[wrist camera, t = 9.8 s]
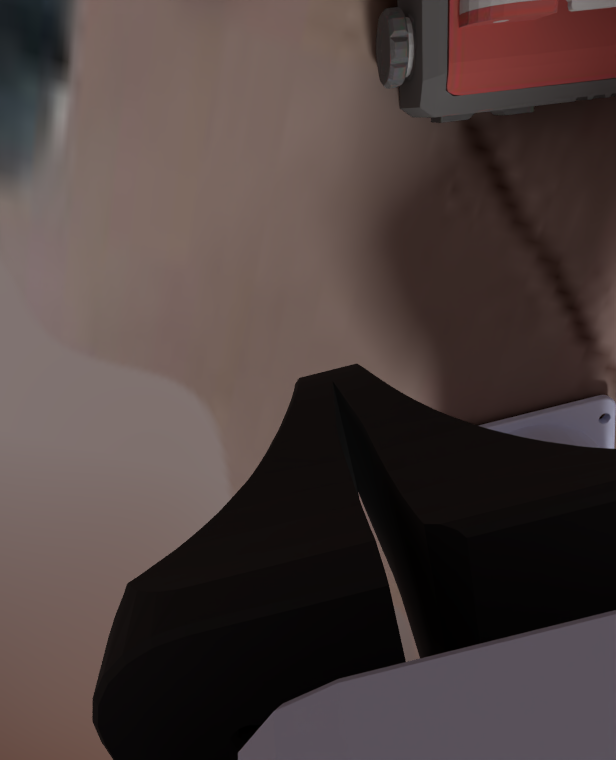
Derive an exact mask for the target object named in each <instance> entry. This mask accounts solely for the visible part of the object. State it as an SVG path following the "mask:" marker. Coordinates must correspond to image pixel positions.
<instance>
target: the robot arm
mask: <svg viewBox="0 0 616 760" xmlns="http://www.w3.org/2000/svg"><path fill="white" fill-rule="evenodd" d="M615 411H616V404H615V401H614V400H613V399H612V398H610V397H609V396H607V395H598V396H594V397H590V398H586V399H582V400H578V401H574V402H570V403H566V404H562V405H558V406H554V407H550V408H546V409H542V410H538V411H534V412H530V413H526V414H522V415H518V416H514V417H510V418H506V419H502V420H498V421H494V422H490V423H486V424H482V425H478V426H477V425H474V424H471V423H468V422H466V421H463V420H460V419H457V418H454V417H451V416H449V415H446V414H444V413H441V412H439V411H437V410H434V409H432V408H430V407H428V406H426V405H424V404H422V403H420V402H418V401H416V400H414V399H412V398H410V397H408V396H406V395H405V394H403V393H401V392H400V391H398V390H396V389H394V388H393V387H391V386H390V385H388V384H387V383H385V382H384V381H382V380H381V379H379V378H378V377H376V376H375V375H373V374H372V373H370V372H369V371H368V370H366V369H365V368H363V367H362V366H360V365H358V364H353V365H349V366H345V367H341V368H337V369H333V370H329V371H325V372H321V373H317V374H313V375H309V376H306V377H302V378H299V379H298V381H297V382H296V384H295V388H294V392H293V396H292V399H291V402H290V404H289V407H288V410H287V412H286V414H285V417H284V419H283V421H282V424H281V426H280V428H279V430H278V432H277V434H276V436H275V438H274V440H273V442H272V443H271V445H270V447H269V449H268V451H267V453H266V454H265V456H264V457H263V459H262V461H261V462H260V464H259V465H258V467H257V468H256V470H255V471H254V473H253V474H252V475H251V477H250V478H249V479H248V481H247V482H246V483H245V484H244V485H243V486H242V487H241V489H240V490H239V491H238V492H237V493H236V494H235V495H234V496H233V497H232V498H231V500H230V501H229V502H228V503H227V504H226V505H225V506H224V507H223V508H222V510H220V511H219V513H217V514H216V515H215V516H214V517H213V518H212V519H211V520H210V521H209V522H208V523H207V524H206V525H205V526H203V527H202V528H201V529H200V530H199V531H198V532H196V533H195V534H194V535H193V536H192V537H191V538H189V539H188V540H187V541H186V542H185V543H183V544H182V545H181V546H180V547H178V548H177V549H176V550H174V551H173V552H172V553H170V554H169V555H168V556H166V557H165V558H163V559H162V560H161V561H159V562H158V563H156V564H155V565H154V566H152V567H151V568H149V569H148V570H147V571H145V572H144V573H142V574H141V575H140V576H138V577H137V578H135V579H134V580H132V581H130V582H129V583H128V584H127V586H126V589H125V593H124V595H123V598H122V600H121V603H120V605H119V608H118V610H117V613H116V616H115V618H114V622H113V625H112V628H111V631H110V634H109V638H108V642H107V645H106V650H105V654H104V657H103V661H102V665H101V669H100V673H99V676H98V680H97V685H96V688H95V692H94V696H93V723H94V726H95V728H96V730H97V733H98V735H99V737H100V740H101V742H102V744H103V745H104V746H105V748H106V749H107V751H108V752H109V754H110V755H111V757H112V758H113V760H616V449H614V440H615ZM602 414H605V415H604V416H603V418H601V419H599V417H600V416H601V415H602ZM358 492H359V494H358ZM359 495H360V497H361V499H362V502H363V504H364V507H365V509H366V511H367V514H368V516H369V519H370V521H371V523H372V526H373V528H374V530H375V533H376V535H377V537H378V540H379V542H380V545H381V547H382V549H383V552H384V554H385V556H386V559H387V561H388V564H389V566H390V568H391V571H392V573H393V575H394V578H395V581H396V583H397V586H398V589H399V592H400V594H401V597H402V600H403V604H404V607H405V610H406V613H407V617H408V620H409V623H410V626H411V630H412V633H413V636H414V639H415V643H416V646H417V649H418V653H419V656H420V659H416V660H412V661H408V662H406V661H405V657H404V652H403V647H402V643H401V639H400V634H399V629H398V625H397V620H396V616H395V611H394V606H393V602H392V597H391V593H390V588H389V584H388V580H387V576H386V573H385V570H384V566H383V563H382V560H381V557H380V553H379V550H378V547H377V544H376V541H375V538H374V536H373V533H372V531H371V529H370V526H369V524H368V521H367V519H366V516H365V513H364V511H363V508H362V506H361V503H360V500H359Z"/></svg>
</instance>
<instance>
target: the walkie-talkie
mask: <svg viewBox="0 0 616 760" xmlns="http://www.w3.org/2000/svg"><path fill="white" fill-rule="evenodd" d="M397 6H398V7H393V8H387V9H384V11H383V12H382V14H381V15H380V17H379V21H378V28H377V36H376V58H377V66H378V72H379V77H380V81H381V83H382V84H383V85H384V86H385V88H388V89H390V88H394V87H398V86H399V92H400V109H402V110H403V111H404V112H406V113H407V114H409V115H410V116H412V117H431V122H437V123H442V122H451V121H460V120H469V119H470V118H471V116H472V115H473V114H474V113H480V112H489V111H490V112H491V113H492V114H493V115H512V114H521V113H529V112H534V106H539V105H547V104H556V103H565V102H574V101H575V100H590V99H593V98H608V97H610V96H616V0H397Z"/></svg>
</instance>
